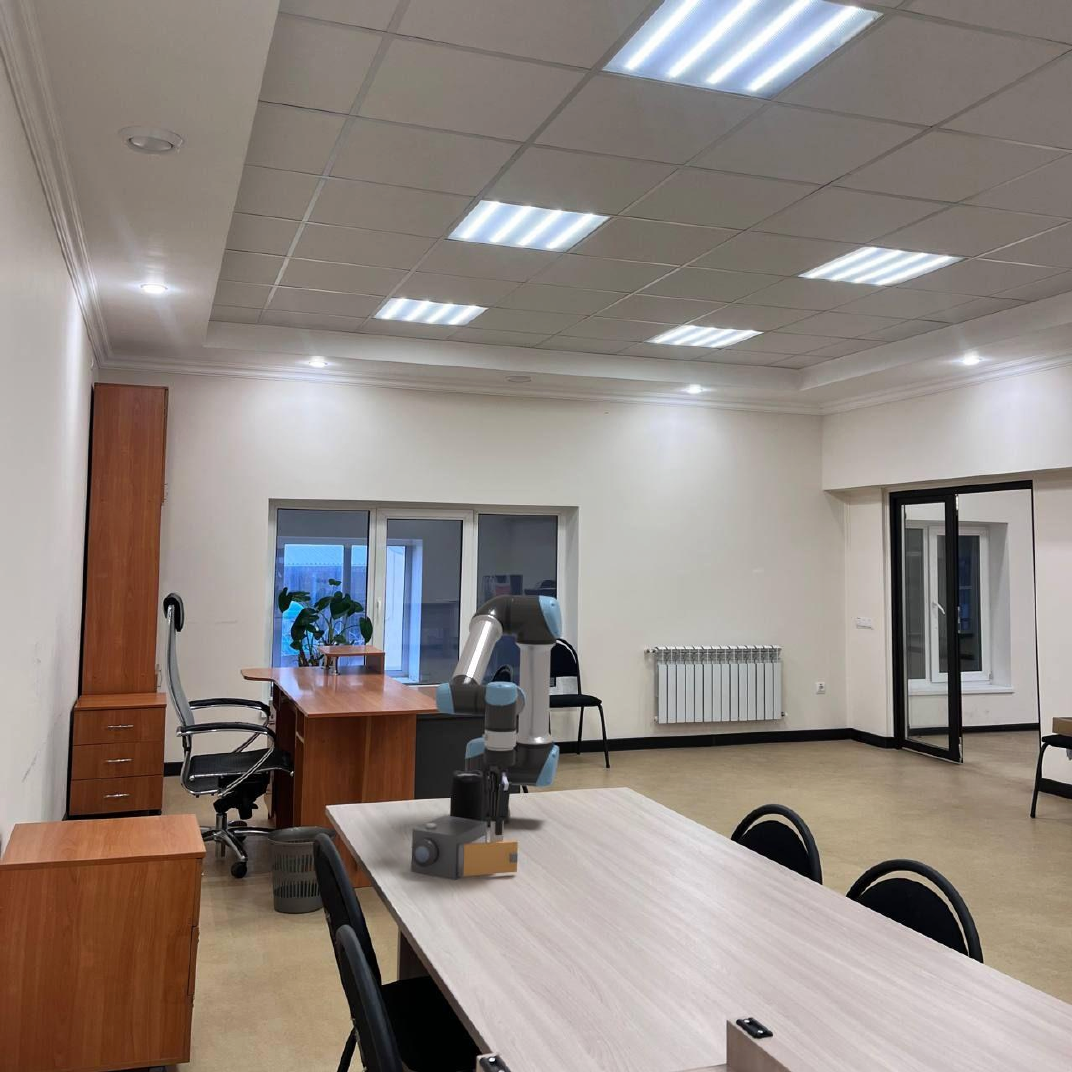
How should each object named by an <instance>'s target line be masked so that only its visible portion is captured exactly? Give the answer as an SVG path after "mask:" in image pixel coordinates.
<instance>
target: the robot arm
mask: <svg viewBox="0 0 1072 1072" xmlns="http://www.w3.org/2000/svg"><path fill="white" fill-rule="evenodd" d="M468 624H469V625H468V631H469V633H468V637H467V640H466V641H465V644H464V647H463V649H462V652H461V654H460V657H459V659H458V662H457V665H456V667H455V670H454V672H453V675H452V678H451V681H450V682H445V683H440V684H438V686H437V689H436V693H435V707H436V709H437V711H438V712H440V714H441V713H443V714H450V715H465V716H484V733H483V734H482V737H478V738H474V739H471V740H470V741H469V742H467V744H466V747H465V748H466V749H465V756H464V760H465V761H464V762H465V763H464V771H473V770H477V771H481V772H483V784H484V817H483V821H484V822H487V827H490V834H489V835H490V836H489V837H490V839H489V842H500V841H504V825H505V824H507V823H509V822H510V821H511V810H510V806H509V804H510V795H511V789H512V786H524V787H526V786H527V787H534V788H537V787H538V788H539V787H540V788H541V787H543V788H545V787H550V786H551V785H552V784H553V783H554V780H555V776H556V774H557V768H558V763H559V757H560V746H558V745H556V744H554V741H555V739H554V737H553V736H552V735H551V734H550V732H549V729H550V727H549V726H550V725H549V724H550V689H551V687H550V686H551V685H550V684H551V683H550V682H551V681H550V678H551V650H552V648H553V647H555V646H556V644H557V639H560V638H561V637H562V635H563V629H562V628H563V621H562V611H561V607H560V603H559V602H558V600H557V599H556V598H555V597H554V596H553V597H552V596H546V595H515V594H514V595H513V594H501V595H498V596H496V597H493V598H491V599H490V600H487V601H486V602H485V603H483V604H482V605H481V606H480V607H479V608H478V609H477V610H476V611H475V613H474V614H473V615H472V617H471V619H470V622H469V623H468ZM504 636H509V637H515V638H514V640H515V644H516V646H517V647H518V648H519V650H520V652H519V653H520V655H519V657H520V658H519V659H520V660H519V661H520V662H519V664H520V665H519V686H518V685H517V684H516V683H513V682H511V681H509V682H508V681H494V682H493V681H491V682H489V683H487V684H486V685H484V684H483V685H482V681H483V679H484V677H485V676H484V675H485V673H486V671H487V667H488V664H489V661H490V659H491V657H492V656H491V655H492V654H493V650H494V648H495V645H496V643H497V642H498V641H499V640H500V639H501V637H504ZM517 716H518V732H517Z"/></svg>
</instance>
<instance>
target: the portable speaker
mask: <svg viewBox="0 0 1072 1072" xmlns="http://www.w3.org/2000/svg"><path fill="white" fill-rule="evenodd" d="M451 781H452V782H451V791H450V801H449V803H450V807H449V816H453V817H459V818H465V819H471V820H477V821H483V817H484V784H483V772H481V771H477V770H473V771H465V770H464V771H461V770H454V771H453V772H452V780H451Z"/></svg>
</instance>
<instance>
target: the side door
mask: <svg viewBox="0 0 1072 1072" xmlns="http://www.w3.org/2000/svg"><path fill="white" fill-rule="evenodd" d="M518 847H519V842H518V841H517V840H503V841H500V842H490V841H489V842H488V841H487V842H486V843H471V844H459V850H458V876H462V877H468V876H480V875H481V876H482V875H494V874H506V873H507V874H508V873H517V871H518V855H519V854H518Z"/></svg>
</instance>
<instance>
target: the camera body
mask: <svg viewBox="0 0 1072 1072" xmlns="http://www.w3.org/2000/svg"><path fill="white" fill-rule="evenodd" d="M411 833H412V836H411V859H410V860H411V861H410V872H411V873H416V874H422V875H425V876H432V877H436V878H441V879H447V880H452V881H456V880H458V879H460V878H462V877H463V876H458V850H459V844H471V843H486V842H488V826H487V822H484V821H477V820H471V819H465V818H459V817H453V816H450V815H446V814H445V815H443V816H440V817H437V818H436V819H433V820H431V821H428V822H426V823H424V824H422V825H419V826H416V827H414V828H412V832H411Z"/></svg>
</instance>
